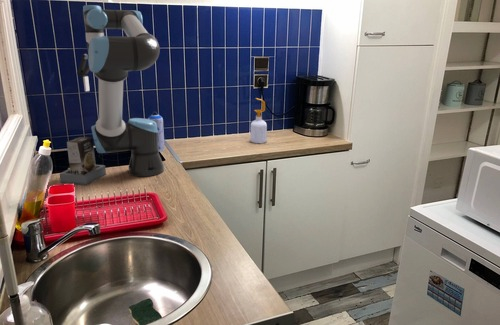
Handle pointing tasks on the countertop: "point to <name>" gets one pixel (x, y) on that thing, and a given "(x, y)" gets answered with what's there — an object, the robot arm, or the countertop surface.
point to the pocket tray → (83, 176)
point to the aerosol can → (159, 129)
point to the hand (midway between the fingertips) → (100, 91)
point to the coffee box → (81, 155)
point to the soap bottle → (259, 127)
